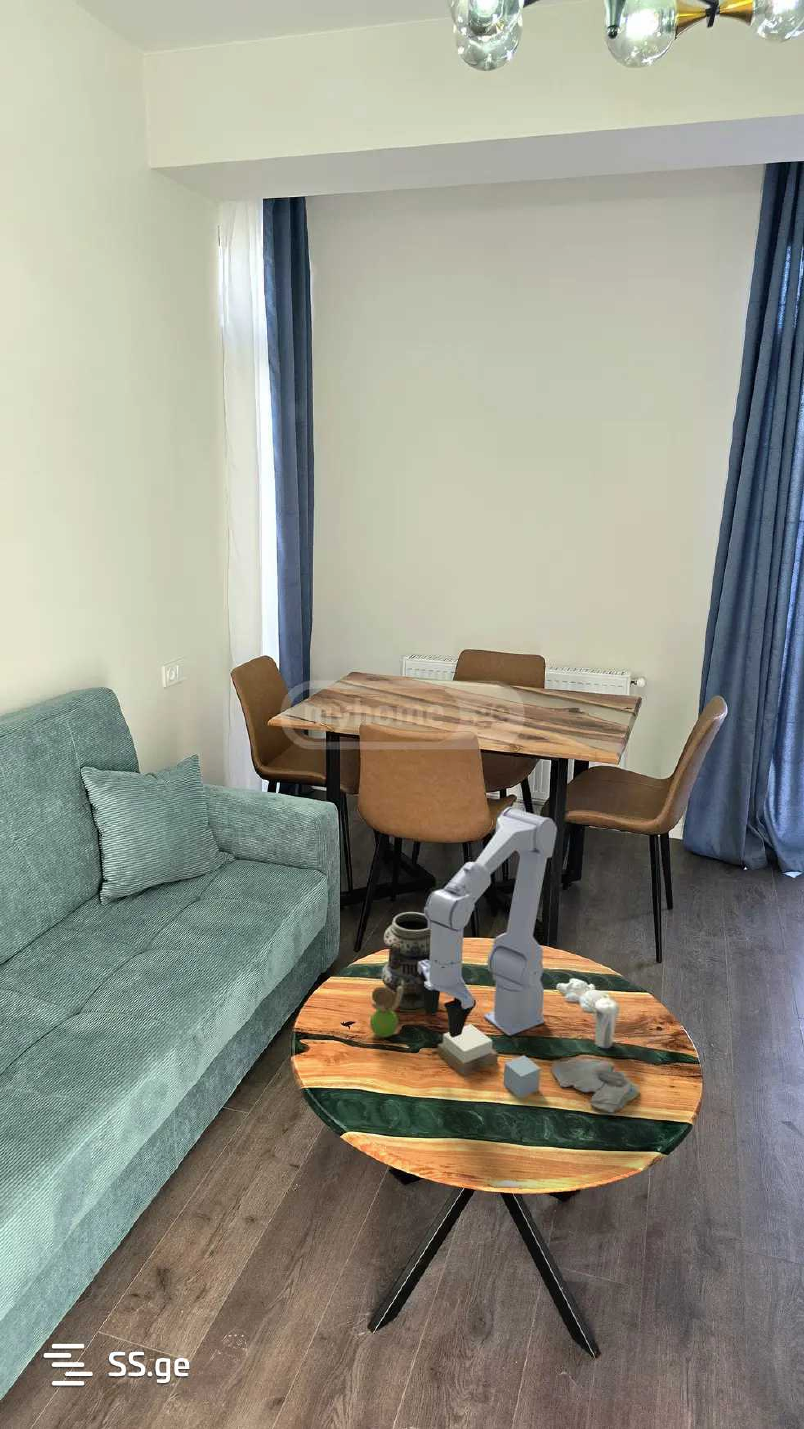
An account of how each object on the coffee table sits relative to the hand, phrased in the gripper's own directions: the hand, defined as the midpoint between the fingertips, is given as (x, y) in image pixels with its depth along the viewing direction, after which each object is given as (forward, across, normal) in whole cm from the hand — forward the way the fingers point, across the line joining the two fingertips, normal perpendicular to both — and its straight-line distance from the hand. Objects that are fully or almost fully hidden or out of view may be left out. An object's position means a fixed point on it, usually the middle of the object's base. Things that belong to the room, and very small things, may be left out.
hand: (443, 1024), depth 171 cm
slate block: (+10, +11, +10) cm, 18 cm away
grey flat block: (+11, -1, +7) cm, 13 cm away
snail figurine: (+10, -15, -2) cm, 19 cm away
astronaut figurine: (+11, -6, +41) cm, 43 cm away
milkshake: (+10, +8, +32) cm, 35 cm away
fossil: (+11, +16, +21) cm, 29 cm away
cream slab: (+8, -1, +7) cm, 11 cm away
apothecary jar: (+10, -23, +8) cm, 27 cm away
